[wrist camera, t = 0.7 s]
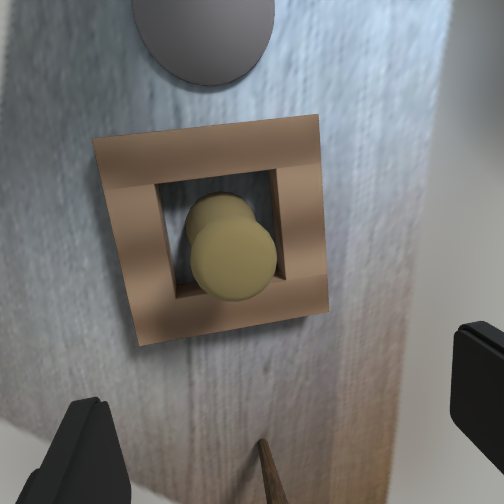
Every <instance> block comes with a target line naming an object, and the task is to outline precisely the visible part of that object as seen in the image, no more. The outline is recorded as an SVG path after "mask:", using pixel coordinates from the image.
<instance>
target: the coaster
mask: <svg viewBox="0 0 504 504" xmlns="http://www.w3.org/2000/svg"><path fill="white" fill-rule="evenodd" d="M132 7H133V14H134V18H135V22H136V25H137V28H138V30H139V33H140V35H141V37H142V39H143V41H144V43H145V45H146V47H147V48H148V50H149V52H150V53H151V54H152V56H153V57H154V58H155V59H156V61H157V62H158V63H159V64H160V65H161V66H163V67H164V68H165V69H166V70H167V71H169V72H170V73H171V74H173V75H175V76H176V77H178V78H180V79H182V80H184V81H187V82H190V83H193V84H197V85H205V86H212V85H220V84H225V83H228V82H231V81H233V80H235V79H237V78H239V77H241V76H242V75H244V74H245V73H247V72H248V71H249V70H250V69H251V68H252V67H253V66H254V65H255V64H256V62H257V61H258V60H259V59H260V57H261V56H262V54H263V52H264V51H265V49H266V47H267V45H268V43H269V40H270V37H271V34H272V30H273V25H274V16H275V3H274V0H132Z"/></svg>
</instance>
